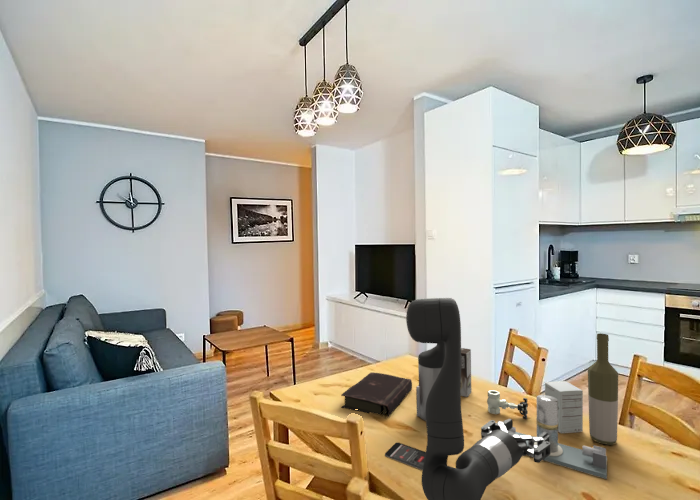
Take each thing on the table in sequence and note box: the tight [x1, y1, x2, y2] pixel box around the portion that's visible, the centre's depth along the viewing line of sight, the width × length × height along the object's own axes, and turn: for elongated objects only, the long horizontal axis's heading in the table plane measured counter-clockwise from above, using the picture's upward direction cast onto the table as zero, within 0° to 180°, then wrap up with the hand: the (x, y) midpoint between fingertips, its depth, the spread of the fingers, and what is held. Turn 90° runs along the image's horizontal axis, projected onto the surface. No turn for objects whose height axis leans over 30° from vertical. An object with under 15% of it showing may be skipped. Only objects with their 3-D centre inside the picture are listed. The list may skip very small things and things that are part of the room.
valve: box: [486, 389, 529, 420], centre depth 118 cm, size 7×7×12 cm
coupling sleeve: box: [535, 394, 559, 453], centre depth 96 cm, size 5×5×13 cm
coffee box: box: [460, 347, 473, 398], centre depth 136 cm, size 9×6×16 cm
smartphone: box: [384, 441, 426, 471], centre depth 95 cm, size 7×1×15 cm
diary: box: [341, 372, 413, 419], centre depth 132 cm, size 19×25×5 cm
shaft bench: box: [496, 420, 608, 480], centre depth 96 cm, size 26×9×4 cm, turn 54°
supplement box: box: [544, 380, 584, 434], centre depth 109 cm, size 7×7×13 cm
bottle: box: [587, 333, 619, 446], centre depth 101 cm, size 7×7×30 cm
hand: (528, 429), depth 89 cm, fingers open, 8 cm apart
